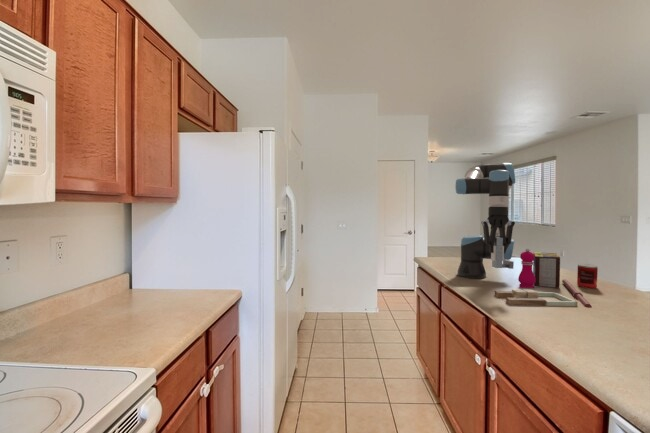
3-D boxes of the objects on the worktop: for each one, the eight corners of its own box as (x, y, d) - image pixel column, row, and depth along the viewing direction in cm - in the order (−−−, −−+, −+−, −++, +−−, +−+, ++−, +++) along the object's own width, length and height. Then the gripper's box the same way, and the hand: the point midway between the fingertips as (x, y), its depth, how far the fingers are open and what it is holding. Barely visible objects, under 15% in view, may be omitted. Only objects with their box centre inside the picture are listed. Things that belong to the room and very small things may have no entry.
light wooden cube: (522, 298, 136) (522, 289, 135) (531, 298, 135) (532, 289, 135) (527, 301, 132) (527, 292, 131) (537, 301, 131) (537, 292, 131)
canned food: (589, 284, 162) (589, 263, 162) (601, 289, 154) (601, 266, 154) (573, 284, 163) (573, 263, 163) (584, 288, 155) (585, 266, 155)
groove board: (494, 297, 141) (494, 290, 141) (526, 298, 140) (526, 290, 140) (510, 308, 127) (510, 300, 127) (546, 308, 126) (546, 300, 126)
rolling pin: (593, 311, 124) (593, 303, 124) (582, 310, 125) (583, 302, 125) (568, 284, 164) (568, 278, 164) (560, 284, 165) (561, 278, 165)
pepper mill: (538, 290, 152) (539, 249, 151) (523, 290, 152) (524, 249, 151) (529, 286, 159) (530, 247, 158) (515, 286, 159) (515, 247, 158)
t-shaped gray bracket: (491, 266, 140) (491, 236, 139) (506, 266, 139) (507, 236, 139) (497, 268, 134) (497, 237, 134) (513, 268, 134) (514, 238, 133)
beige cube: (511, 298, 136) (511, 289, 136) (521, 298, 136) (521, 289, 135) (516, 301, 132) (516, 291, 132) (526, 301, 132) (526, 292, 131)
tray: (527, 298, 140) (527, 292, 140) (554, 298, 139) (554, 292, 139) (546, 308, 126) (547, 301, 126) (577, 308, 126) (577, 302, 126)
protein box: (555, 281, 169) (556, 253, 168) (559, 288, 155) (560, 257, 155) (532, 279, 174) (533, 251, 173) (534, 286, 161) (535, 255, 160)
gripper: (483, 206, 133) (482, 261, 133) (521, 206, 132) (520, 262, 133) (476, 206, 140) (475, 258, 141) (512, 206, 139) (511, 259, 140)
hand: (497, 260), depth 137 cm, fingers closed on t-shaped gray bracket, 3 cm apart
